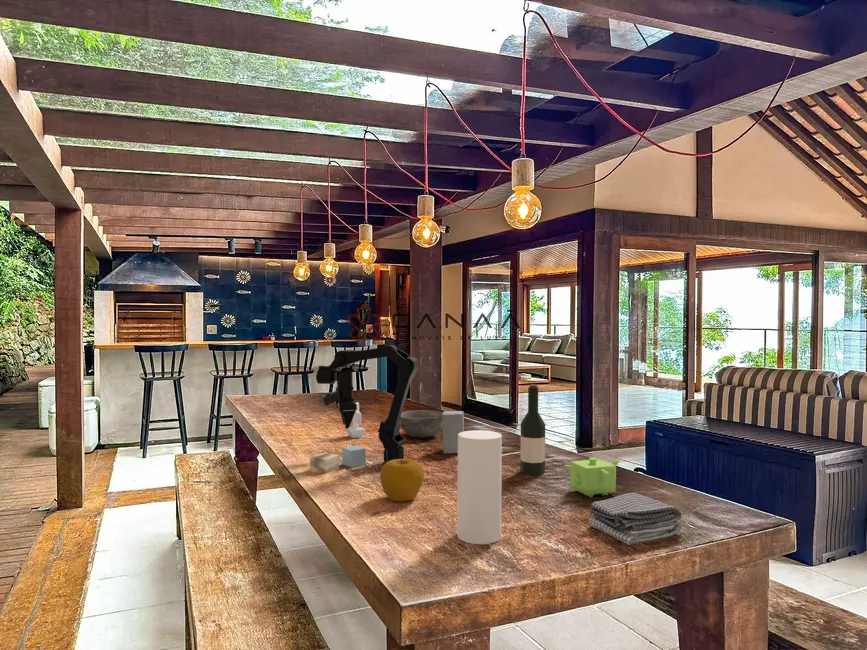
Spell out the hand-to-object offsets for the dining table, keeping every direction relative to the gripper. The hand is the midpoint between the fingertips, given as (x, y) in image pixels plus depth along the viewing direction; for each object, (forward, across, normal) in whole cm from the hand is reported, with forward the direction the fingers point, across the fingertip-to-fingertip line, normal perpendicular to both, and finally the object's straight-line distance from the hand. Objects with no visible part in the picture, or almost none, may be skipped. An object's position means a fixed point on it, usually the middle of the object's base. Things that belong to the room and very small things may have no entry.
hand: (345, 426), depth 219 cm
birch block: (+13, +12, -9) cm, 19 cm away
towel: (+16, +87, +63) cm, 109 cm away
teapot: (+15, +57, +68) cm, 90 cm away
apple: (+14, +49, +11) cm, 52 cm away
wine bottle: (+15, +31, +60) cm, 69 cm away
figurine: (+12, -40, +8) cm, 43 cm away
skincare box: (+14, -3, +42) cm, 44 cm away
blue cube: (+13, +7, +2) cm, 15 cm away
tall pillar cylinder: (+14, +82, +24) cm, 86 cm away
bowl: (+13, -35, +36) cm, 52 cm away
